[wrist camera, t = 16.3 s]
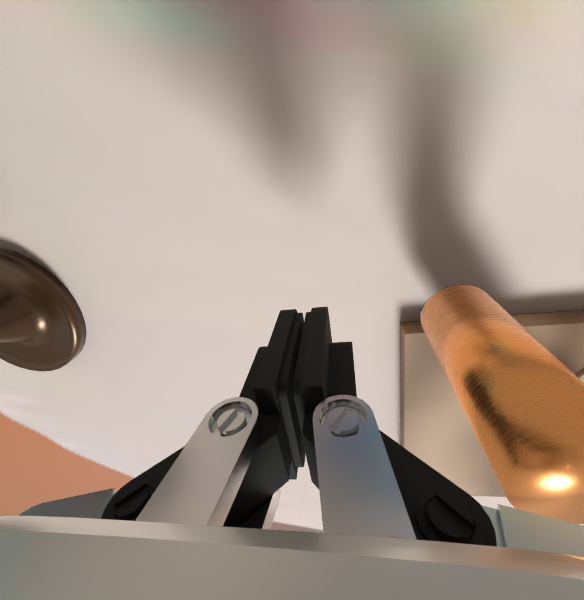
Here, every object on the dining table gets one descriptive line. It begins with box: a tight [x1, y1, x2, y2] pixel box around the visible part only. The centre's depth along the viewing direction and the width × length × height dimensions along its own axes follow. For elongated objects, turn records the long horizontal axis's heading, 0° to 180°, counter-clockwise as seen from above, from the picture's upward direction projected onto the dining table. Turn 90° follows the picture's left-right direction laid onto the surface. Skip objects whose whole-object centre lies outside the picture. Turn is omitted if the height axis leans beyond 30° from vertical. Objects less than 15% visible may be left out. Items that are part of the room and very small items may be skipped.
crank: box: [420, 285, 584, 524], centre depth 12 cm, size 15×4×9 cm, turn 40°
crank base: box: [400, 310, 584, 497], centre depth 18 cm, size 14×14×1 cm
